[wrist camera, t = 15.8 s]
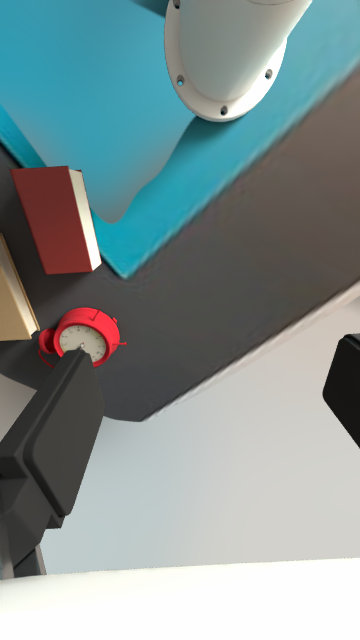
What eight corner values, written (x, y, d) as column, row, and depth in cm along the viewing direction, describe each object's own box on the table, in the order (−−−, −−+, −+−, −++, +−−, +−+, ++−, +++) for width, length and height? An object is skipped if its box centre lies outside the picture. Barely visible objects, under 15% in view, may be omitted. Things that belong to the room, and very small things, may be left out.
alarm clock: (133, 351, 38) (58, 399, 38) (132, 335, 44) (66, 377, 44) (93, 301, 34) (8, 355, 34) (97, 291, 40) (25, 337, 40)
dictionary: (31, 173, 29) (9, 169, 25) (81, 170, 29) (67, 165, 25) (59, 266, 35) (44, 274, 31) (101, 263, 35) (92, 271, 31)
